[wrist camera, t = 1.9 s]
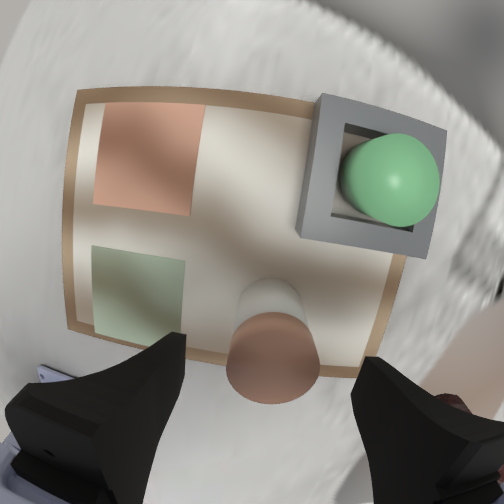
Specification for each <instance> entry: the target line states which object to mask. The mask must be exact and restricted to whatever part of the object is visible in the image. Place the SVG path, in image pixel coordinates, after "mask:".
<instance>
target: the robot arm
mask: <svg viewBox="0 0 504 504" xmlns="http://www.w3.org/2000/svg"><path fill="white" fill-rule="evenodd" d="M186 337H187V334H182V333H177V332H170V333H169V334H167V335H166V336H164V337H163V338H161V339H160V340H158V341H157V342H155V343H154V344H153V345H151V346H149V347H148V348H146V349H145V350H143V351H142V352H140V353H138V354H137V355H135V356H133V357H131V358H129V359H128V360H126V361H124V362H122V363H120V364H118V365H115V366H113V367H111V368H108V369H106V370H103V371H100V372H97V373H93V374H90V375H87V376H83V377H79V378H72V377H69V376H67V375H64V374H61V373H59V372H56V371H54V370H51V369H49V368H46V367H44V366H41V365H40V366H39V367H38V368H37V371H38V375H39V379H40V382H41V383H28V384H27V385H26V386H25V387H24V388H23V389H22V390H21V391H20V392H19V393H18V394H17V395H16V396H15V397H14V398H13V399H12V400H11V401H10V402H9V403H8V404H7V406H6V408H5V417H6V420H7V423H8V425H9V427H10V429H11V432H10V434H9V435H8V436H7V437H6V439H5V440H4V441H3V442H2V443H0V504H142V503H143V499H144V495H145V490H146V486H147V482H148V478H149V474H150V471H151V467H152V463H153V460H154V456H155V453H156V449H157V446H158V443H159V440H160V438H161V435H162V433H163V431H164V428H165V426H166V424H167V421H168V419H169V417H170V415H171V412H172V410H173V408H174V406H175V403H176V401H177V399H178V396H179V393H180V390H181V387H182V383H183V379H184V376H185V356H186ZM351 400H352V407H353V412H354V416H355V419H356V422H357V426H358V429H359V432H360V435H361V438H362V441H363V444H364V447H365V450H366V453H367V457H368V461H369V467H370V472H371V479H372V488H373V498H374V504H504V482H503V483H502V484H501V485H499V483H498V481H497V480H499V478H500V477H501V475H500V473H499V471H498V470H499V469H500V468H501V466H502V465H503V464H504V422H501V421H495V420H490V419H486V418H483V417H479V416H476V415H473V414H470V413H467V412H465V411H463V410H460V409H458V408H455V407H453V406H451V405H449V404H447V403H445V402H443V401H442V400H440V399H438V398H436V397H434V396H433V395H431V394H430V393H428V392H427V391H425V390H424V389H422V388H421V387H419V386H418V385H416V384H415V383H414V382H412V381H411V380H409V379H408V378H407V377H405V376H404V375H403V374H402V373H400V372H399V371H398V370H396V369H395V368H394V367H392V366H391V365H390V364H388V363H387V362H386V361H384V360H383V359H381V358H379V357H372V356H365V358H364V361H363V364H362V366H361V369H360V372H359V374H358V377H357V379H356V382H355V384H354V387H353V389H352V392H351Z"/></svg>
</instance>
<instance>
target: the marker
mask: <svg viewBox="0 0 504 504" xmlns="http://www.w3.org/2000/svg"><path fill="white" fill-rule="evenodd" d="M226 372H227V377H228V380H229V382H230V384H231V385H232V387H233V388H234V389H235V390H236V391H237V392H238V393H239V394H240V395H242V396H243V397H245V398H247V399H249V400H251V401H254V402H258V403H263V404H280V403H285V402H289V401H292V400H294V399H296V398H299V397H300V396H302V395H303V394H305V393H306V392H307V391H308V390H309V389H310V388H311V387H312V386H313V385H314V383H315V382H316V380H317V378H318V375H319V372H320V360H319V356H318V353H317V349H316V346H315V342H314V339H313V336H312V333H311V331H310V329H309V326H308V323H307V319H306V316H305V313H304V309H303V306H302V302H301V299H300V296H299V294H298V292H297V291H296V289H295V288H294V287H293V286H292V285H290V284H289V283H287V282H286V281H284V280H281V279H277V278H264V279H260V280H257V281H255V282H253V283H251V284H250V285H249V286H247V287H246V288H245V289H244V291H243V292H242V294H241V296H240V298H239V301H238V307H237V313H236V319H235V325H234V330H233V336H232V338H231V342H230V347H229V353H228V359H227V364H226Z"/></svg>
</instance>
